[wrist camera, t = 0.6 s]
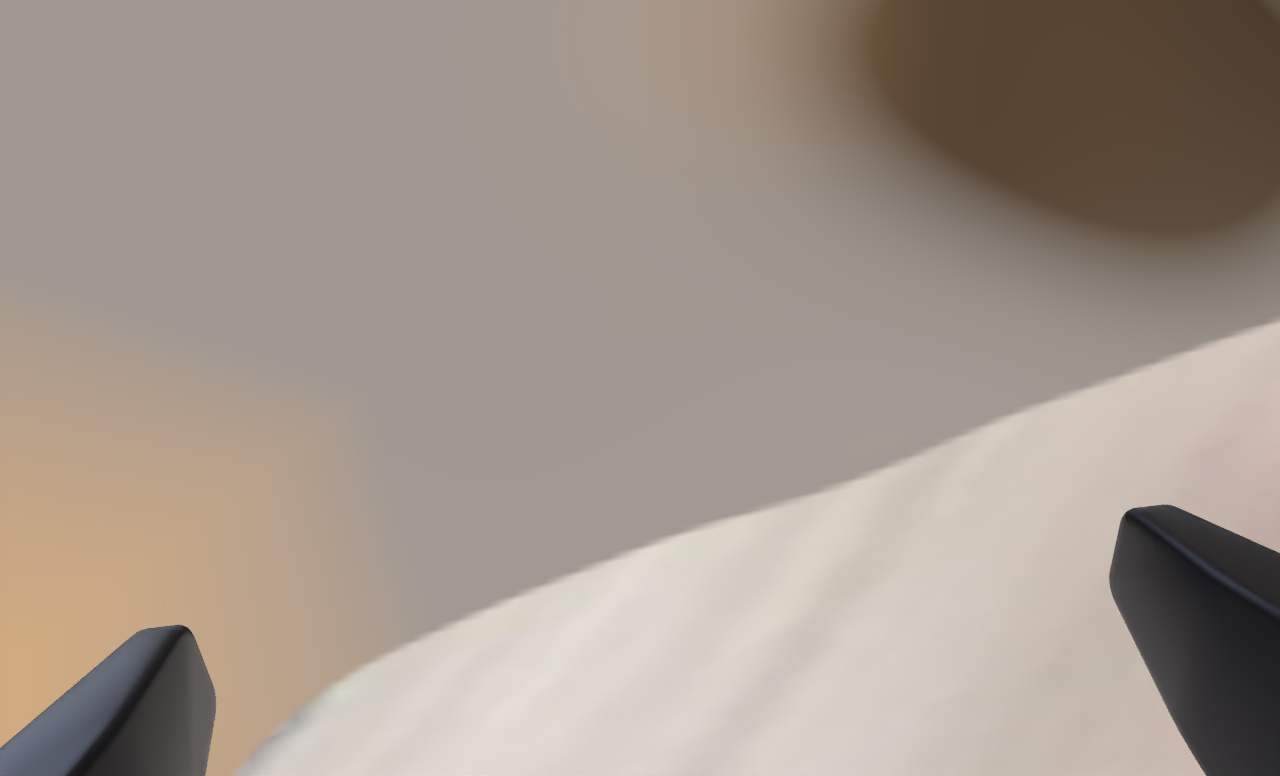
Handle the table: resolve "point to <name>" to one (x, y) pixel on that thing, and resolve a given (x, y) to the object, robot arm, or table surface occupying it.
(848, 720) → the table surface
